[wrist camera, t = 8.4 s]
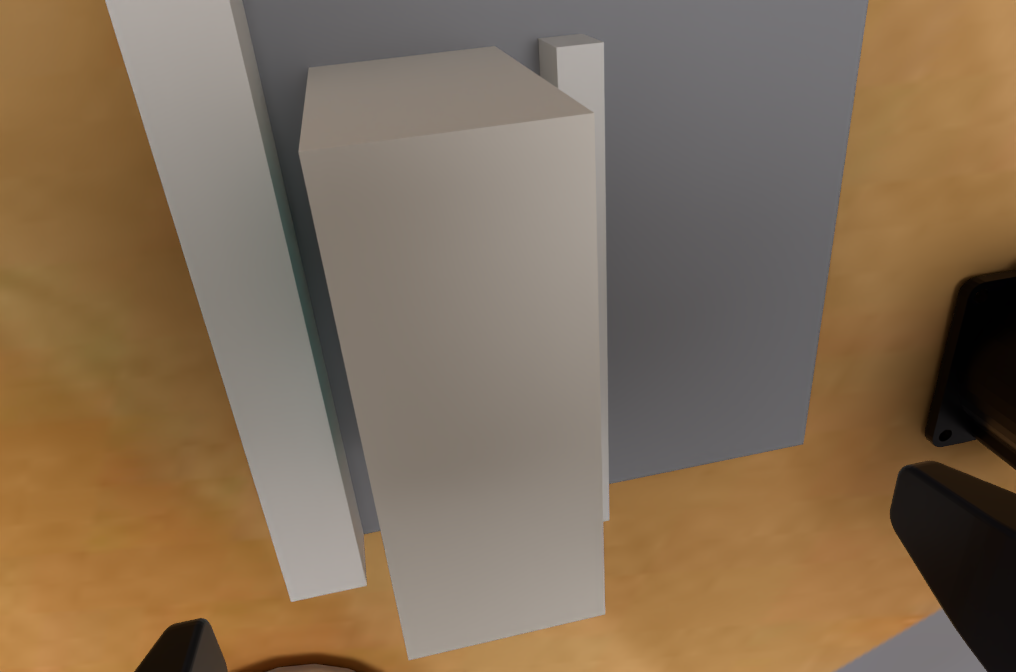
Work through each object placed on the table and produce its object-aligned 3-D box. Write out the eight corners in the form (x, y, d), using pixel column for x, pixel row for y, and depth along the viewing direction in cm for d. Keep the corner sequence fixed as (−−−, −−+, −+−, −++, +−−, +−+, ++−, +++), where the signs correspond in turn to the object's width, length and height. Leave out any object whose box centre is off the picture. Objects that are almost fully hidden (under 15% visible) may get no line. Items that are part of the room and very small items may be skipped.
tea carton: (495, 45, 16) (594, 112, 10) (525, 420, 21) (605, 614, 15) (306, 68, 16) (294, 152, 10) (382, 447, 21) (406, 660, 15)
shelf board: (778, 417, 25) (840, 483, 22) (295, 513, 23) (291, 601, 20) (913, -668, 14) (1081, -838, 11) (-48, -702, 11) (-185, -936, 8)
